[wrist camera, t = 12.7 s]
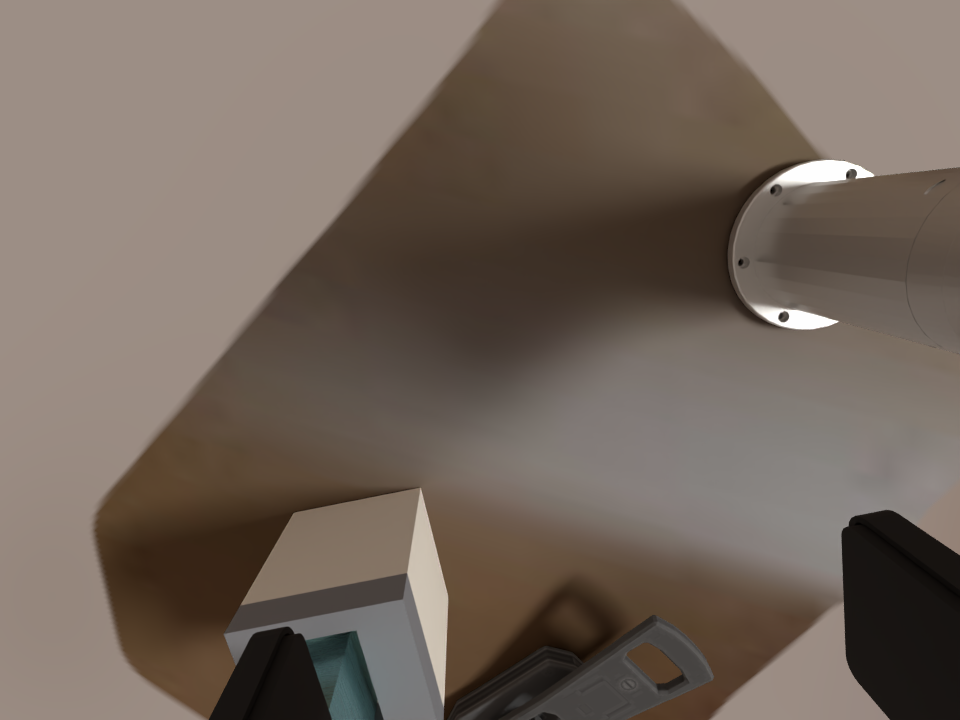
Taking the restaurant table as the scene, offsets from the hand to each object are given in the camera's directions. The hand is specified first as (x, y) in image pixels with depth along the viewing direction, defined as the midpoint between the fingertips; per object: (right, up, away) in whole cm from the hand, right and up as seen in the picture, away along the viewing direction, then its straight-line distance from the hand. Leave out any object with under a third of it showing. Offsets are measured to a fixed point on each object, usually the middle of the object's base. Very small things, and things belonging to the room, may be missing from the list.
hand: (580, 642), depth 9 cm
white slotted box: (-11, -12, +38) cm, 42 cm away
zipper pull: (+6, -25, +42) cm, 49 cm away
